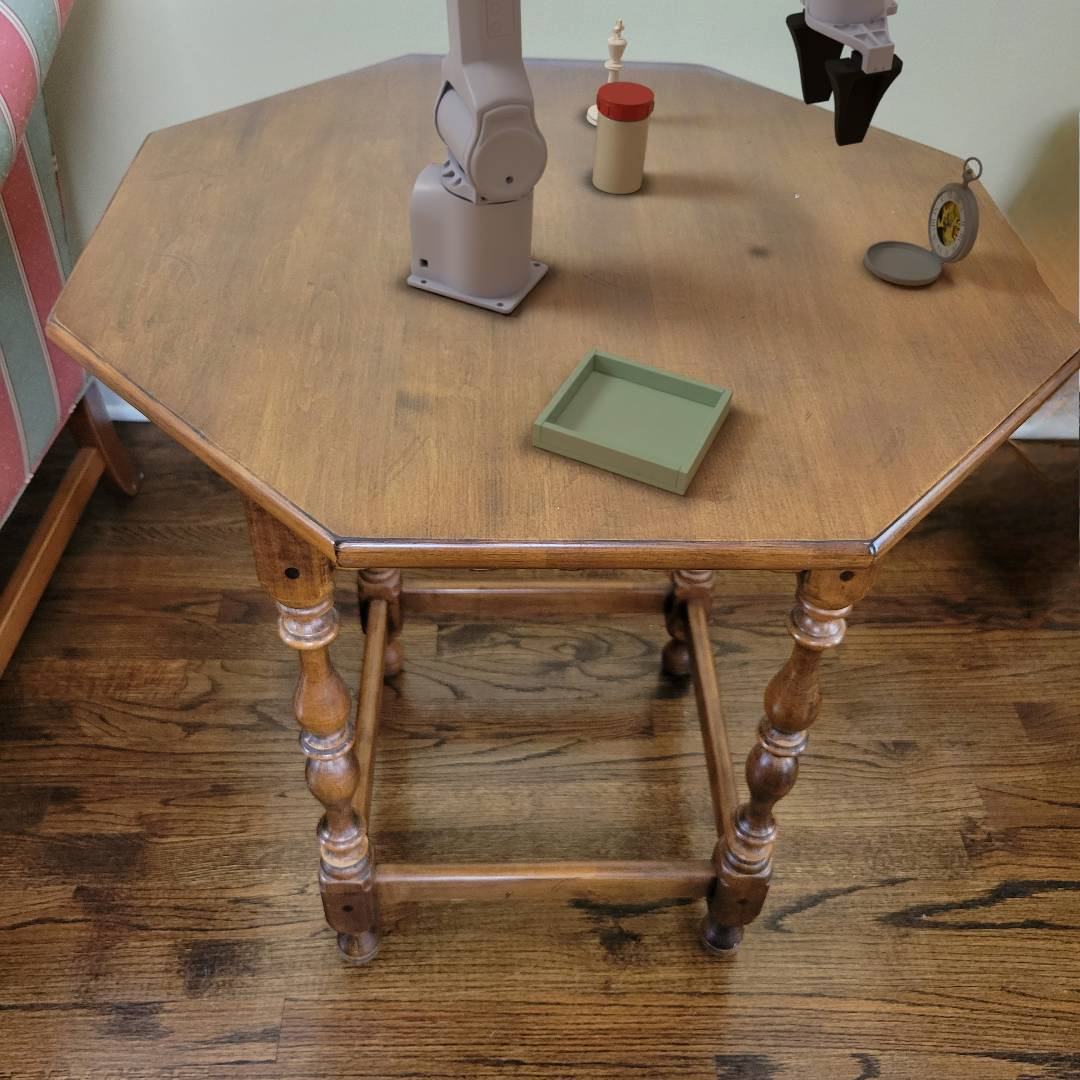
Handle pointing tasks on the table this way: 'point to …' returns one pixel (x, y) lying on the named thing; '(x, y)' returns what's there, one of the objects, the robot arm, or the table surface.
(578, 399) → the tray
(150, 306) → the table surface
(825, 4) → the robot arm
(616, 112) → the lid
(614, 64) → the chess piece
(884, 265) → the pocket watch
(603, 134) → the jar
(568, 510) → the table surface
